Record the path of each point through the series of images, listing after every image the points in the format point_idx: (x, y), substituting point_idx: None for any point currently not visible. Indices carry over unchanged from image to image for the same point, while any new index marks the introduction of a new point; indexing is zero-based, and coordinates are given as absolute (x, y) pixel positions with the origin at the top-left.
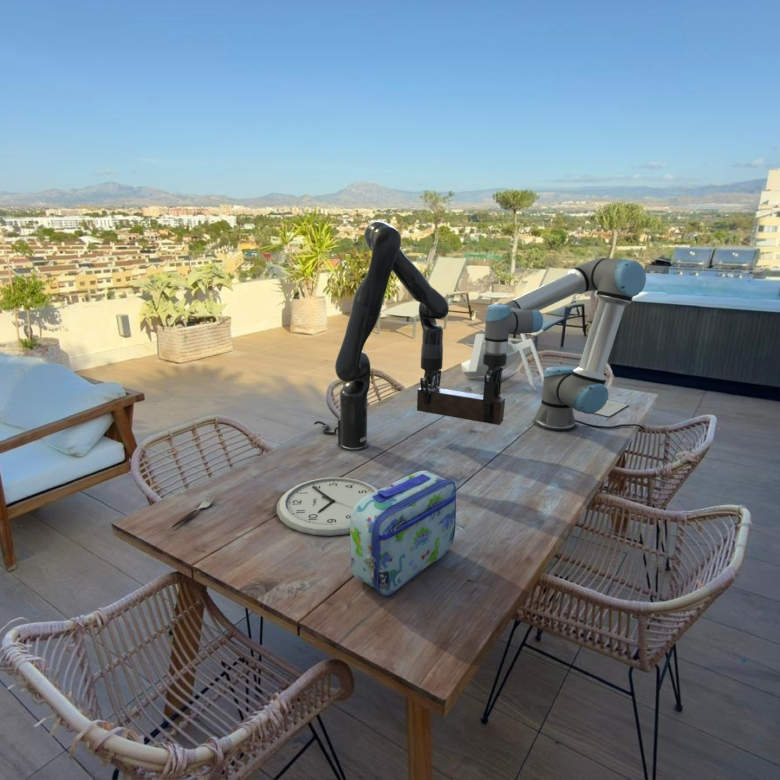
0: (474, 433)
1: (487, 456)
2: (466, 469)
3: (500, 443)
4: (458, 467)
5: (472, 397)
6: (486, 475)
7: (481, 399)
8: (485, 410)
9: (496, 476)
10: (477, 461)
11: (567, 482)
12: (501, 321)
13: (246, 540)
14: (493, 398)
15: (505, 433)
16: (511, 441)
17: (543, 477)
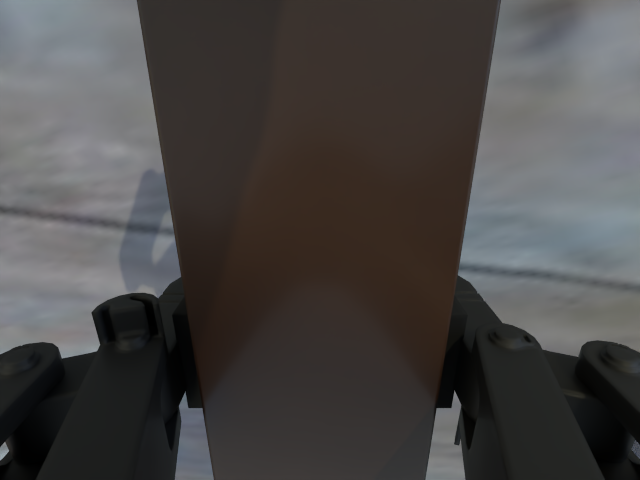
0: (520, 43)
1: None
2: (43, 166)
3: None
4: (33, 123)
5: (188, 72)
6: (56, 258)
7: (182, 276)
8: (161, 297)
9: (77, 293)
10: (157, 184)
11: (195, 471)
12: None
13: None
14: (341, 414)
15: (571, 208)
16: (469, 259)
17: (183, 418)
